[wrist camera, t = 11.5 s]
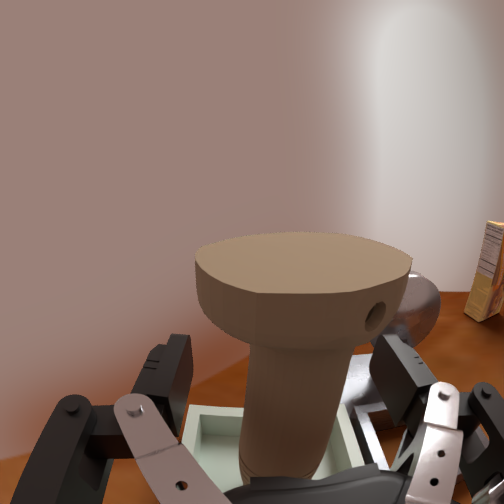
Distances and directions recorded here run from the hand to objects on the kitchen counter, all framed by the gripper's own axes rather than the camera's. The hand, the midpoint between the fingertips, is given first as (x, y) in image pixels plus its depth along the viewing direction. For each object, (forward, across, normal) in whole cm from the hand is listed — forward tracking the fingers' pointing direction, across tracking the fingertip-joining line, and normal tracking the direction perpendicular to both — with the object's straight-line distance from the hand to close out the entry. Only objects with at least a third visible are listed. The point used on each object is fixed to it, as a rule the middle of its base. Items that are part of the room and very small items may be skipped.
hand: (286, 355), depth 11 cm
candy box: (+19, -38, +11) cm, 44 cm away
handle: (-2, 0, +10) cm, 10 cm away
